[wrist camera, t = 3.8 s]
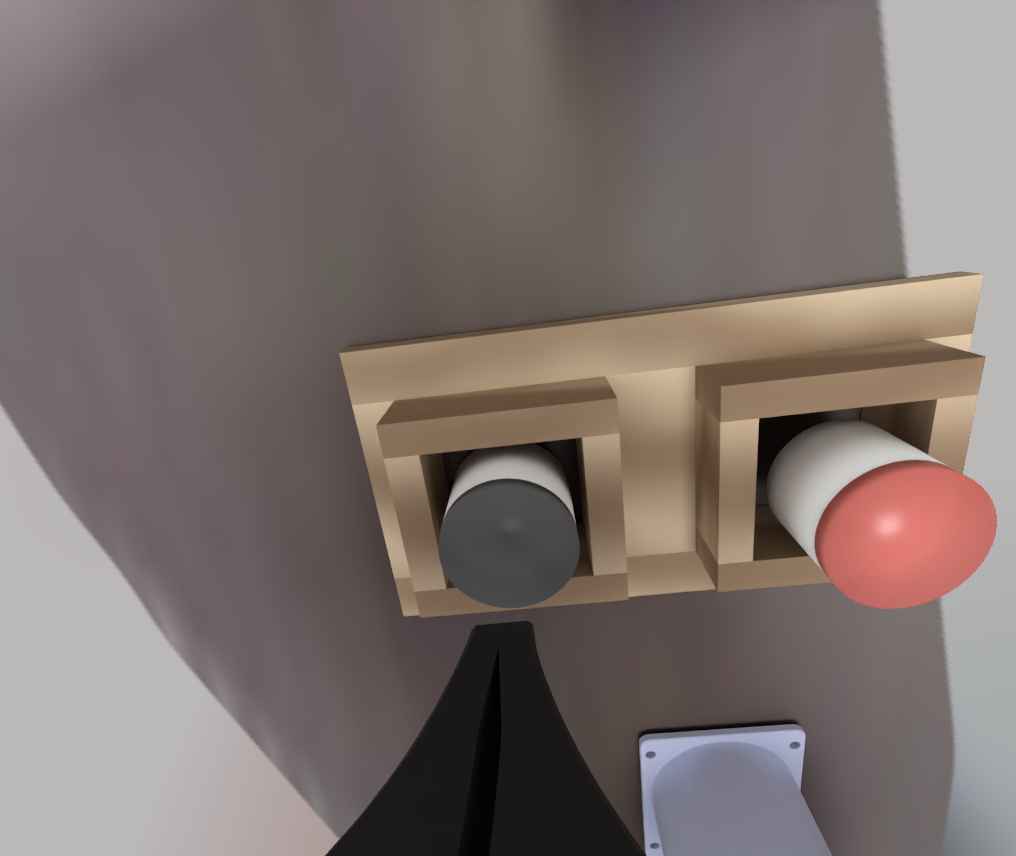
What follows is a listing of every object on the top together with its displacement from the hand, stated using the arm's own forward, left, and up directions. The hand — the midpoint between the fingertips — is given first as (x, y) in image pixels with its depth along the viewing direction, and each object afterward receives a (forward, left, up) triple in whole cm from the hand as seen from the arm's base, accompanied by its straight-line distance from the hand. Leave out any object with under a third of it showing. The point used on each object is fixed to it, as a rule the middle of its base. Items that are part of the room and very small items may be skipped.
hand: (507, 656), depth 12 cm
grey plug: (0, 0, -8) cm, 8 cm away
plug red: (0, -11, -7) cm, 13 cm away
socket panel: (0, -5, -10) cm, 11 cm away
